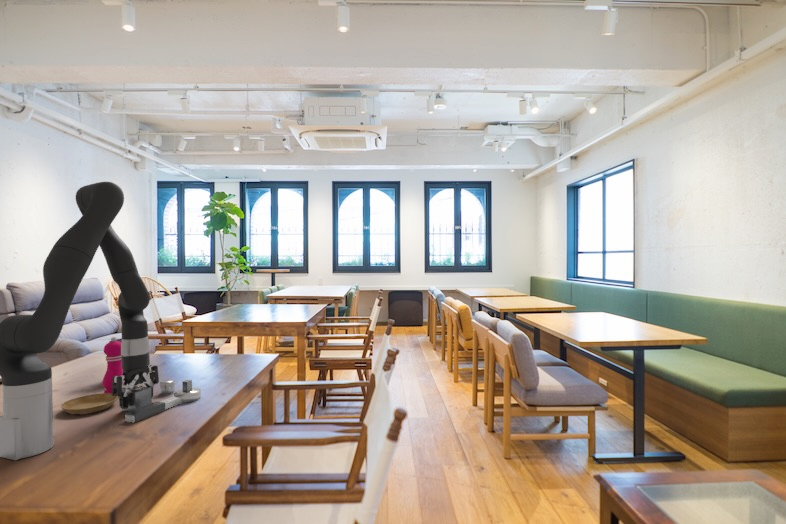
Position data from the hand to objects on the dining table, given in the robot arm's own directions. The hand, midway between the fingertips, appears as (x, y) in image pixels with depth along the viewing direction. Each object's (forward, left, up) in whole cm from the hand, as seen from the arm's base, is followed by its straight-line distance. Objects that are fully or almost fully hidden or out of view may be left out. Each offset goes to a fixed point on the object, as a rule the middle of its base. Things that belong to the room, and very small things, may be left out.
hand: (137, 403), depth 133 cm
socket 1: (0, 0, -2) cm, 2 cm away
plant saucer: (-4, +15, -2) cm, 15 cm away
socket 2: (+15, +4, -2) cm, 15 cm away
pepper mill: (+8, +20, -2) cm, 21 cm away
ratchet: (+3, -8, -2) cm, 9 cm away
